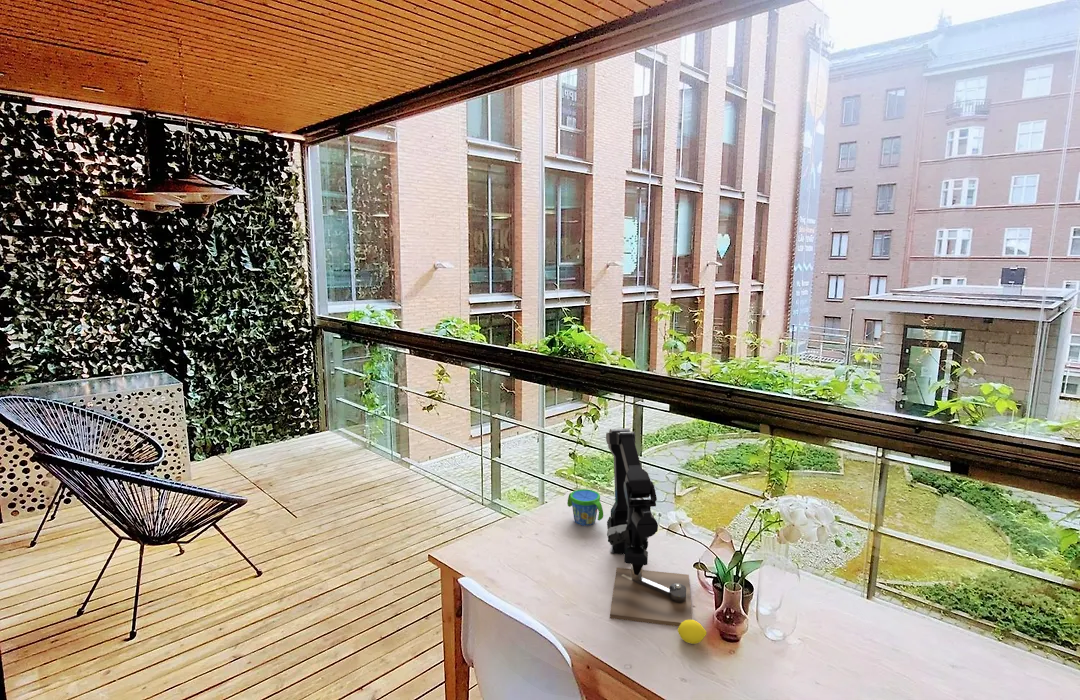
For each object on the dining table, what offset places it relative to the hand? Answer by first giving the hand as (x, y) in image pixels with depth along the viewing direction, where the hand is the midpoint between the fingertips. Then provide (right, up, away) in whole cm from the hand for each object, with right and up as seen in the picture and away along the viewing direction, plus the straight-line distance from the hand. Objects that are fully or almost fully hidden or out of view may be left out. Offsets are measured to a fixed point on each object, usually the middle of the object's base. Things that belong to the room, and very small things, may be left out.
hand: (636, 571), depth 163 cm
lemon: (+10, -9, -23) cm, 26 cm away
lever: (+5, -4, -4) cm, 7 cm away
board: (+3, -5, -5) cm, 8 cm away
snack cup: (-12, +2, +40) cm, 42 cm away
